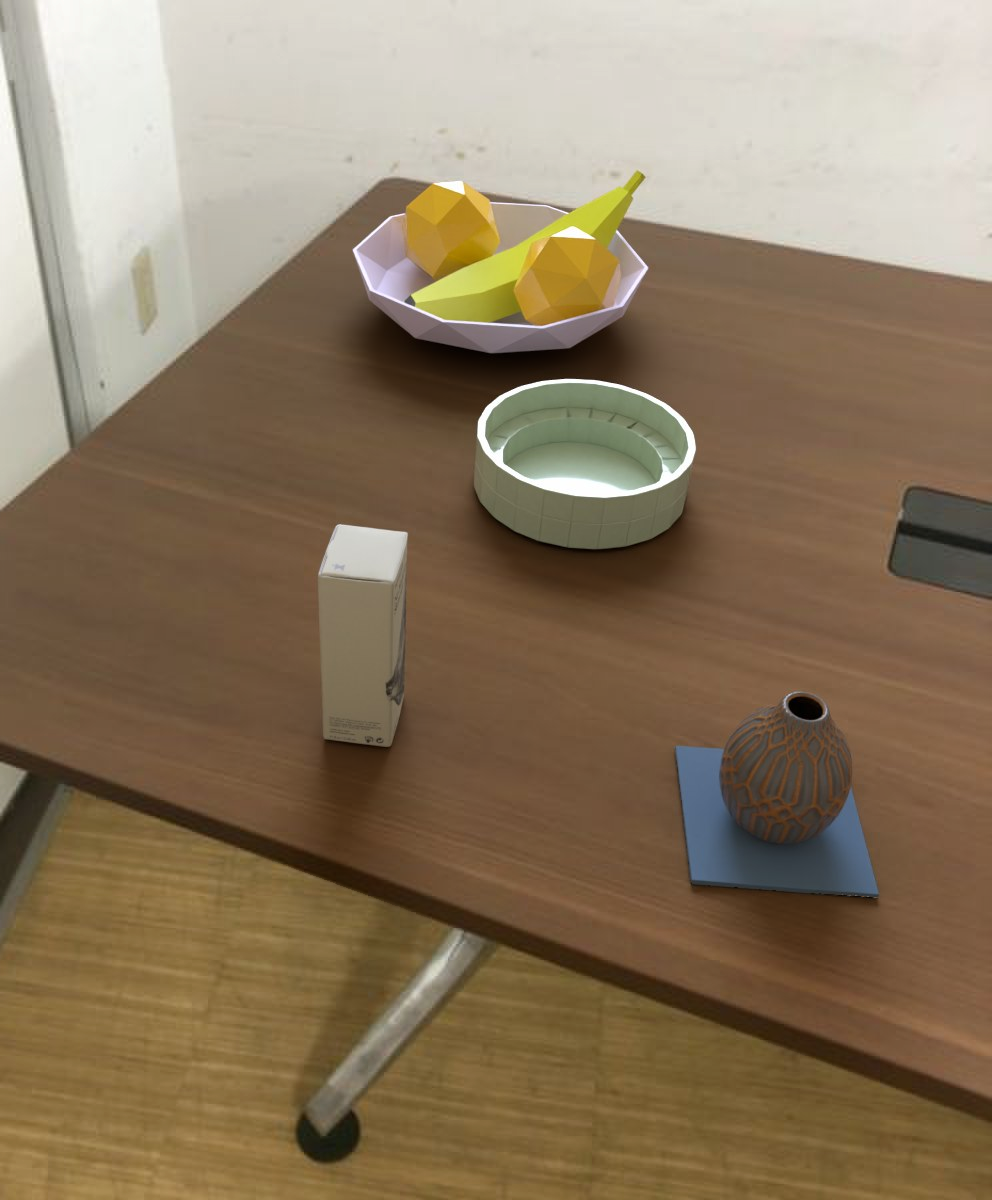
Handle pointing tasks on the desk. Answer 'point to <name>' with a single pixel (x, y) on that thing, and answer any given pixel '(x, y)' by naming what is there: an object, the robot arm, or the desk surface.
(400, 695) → the box
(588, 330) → the fruit bowl
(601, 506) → the bowl
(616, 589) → the desk surface
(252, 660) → the desk surface
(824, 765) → the vase
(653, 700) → the desk surface
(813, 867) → the mat
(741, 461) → the desk surface
